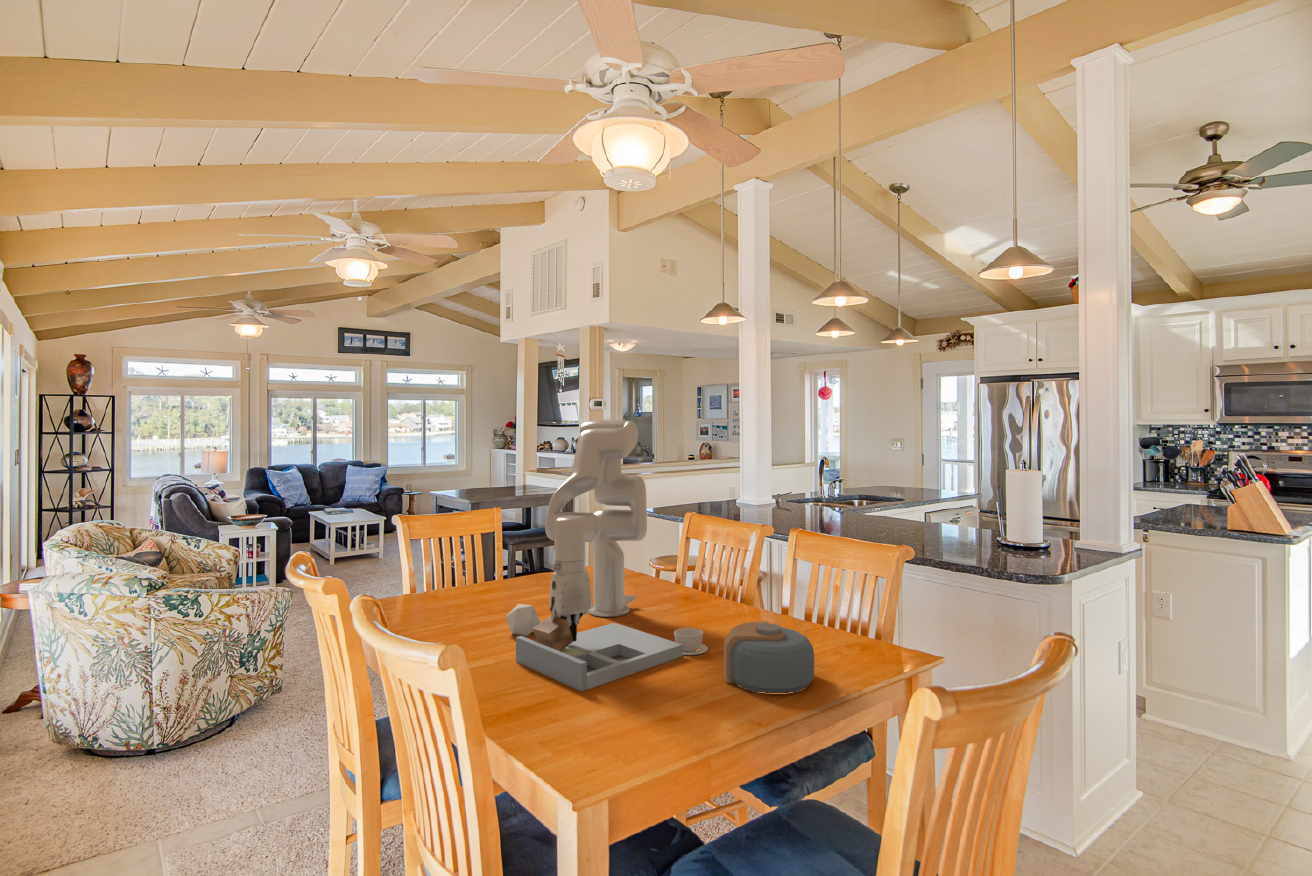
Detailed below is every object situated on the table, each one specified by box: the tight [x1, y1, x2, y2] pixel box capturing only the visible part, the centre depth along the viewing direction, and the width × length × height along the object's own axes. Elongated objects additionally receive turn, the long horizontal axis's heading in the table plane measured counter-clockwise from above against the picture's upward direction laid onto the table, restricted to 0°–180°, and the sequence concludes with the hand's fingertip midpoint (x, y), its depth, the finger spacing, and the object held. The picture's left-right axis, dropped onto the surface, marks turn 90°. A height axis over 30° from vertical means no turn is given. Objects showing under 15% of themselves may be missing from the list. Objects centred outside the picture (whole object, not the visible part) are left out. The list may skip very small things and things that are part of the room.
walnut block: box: [533, 615, 573, 652], centre depth 161 cm, size 6×6×6 cm
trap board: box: [515, 622, 684, 692], centre depth 163 cm, size 32×26×6 cm
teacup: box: [673, 627, 709, 656], centre depth 170 cm, size 10×10×5 cm
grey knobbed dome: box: [723, 620, 815, 693], centre depth 150 cm, size 19×20×12 cm
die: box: [505, 603, 541, 637], centre depth 184 cm, size 8×9×10 cm
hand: (570, 640), depth 165 cm, fingers closed
